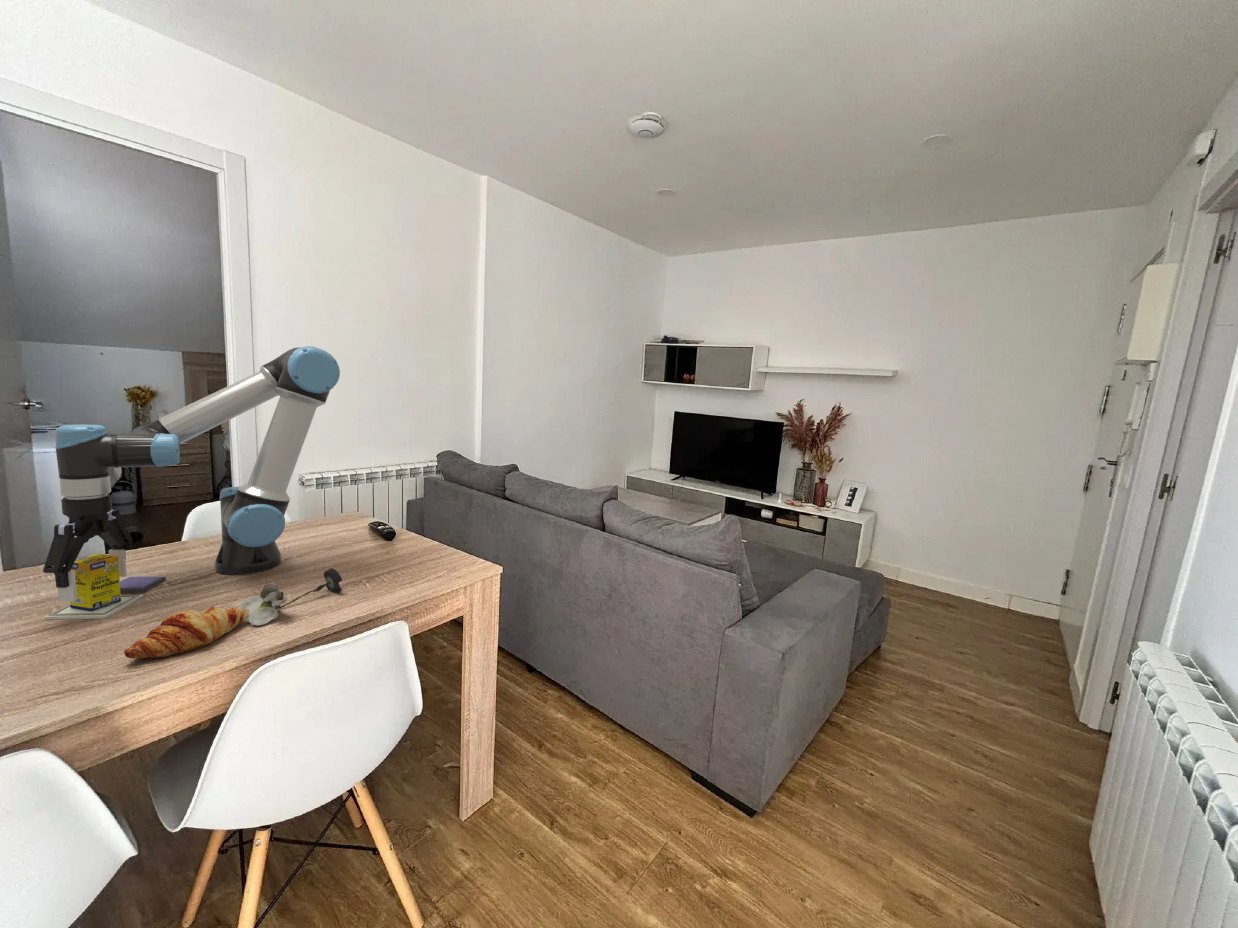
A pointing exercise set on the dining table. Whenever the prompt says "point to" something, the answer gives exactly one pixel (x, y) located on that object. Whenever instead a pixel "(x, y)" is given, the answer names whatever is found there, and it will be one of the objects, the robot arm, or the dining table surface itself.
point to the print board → (96, 614)
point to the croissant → (186, 632)
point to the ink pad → (139, 584)
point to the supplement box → (96, 582)
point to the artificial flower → (280, 599)
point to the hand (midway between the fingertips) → (94, 587)
